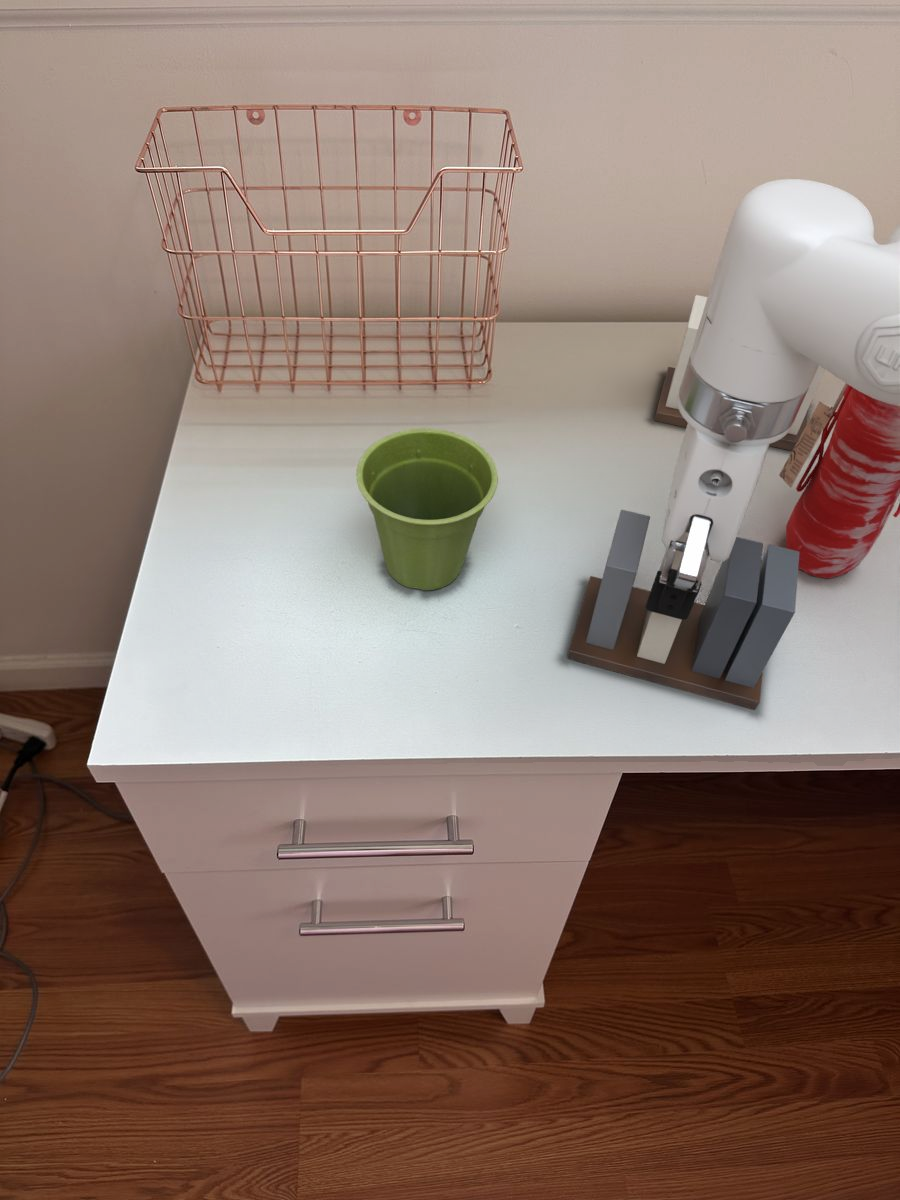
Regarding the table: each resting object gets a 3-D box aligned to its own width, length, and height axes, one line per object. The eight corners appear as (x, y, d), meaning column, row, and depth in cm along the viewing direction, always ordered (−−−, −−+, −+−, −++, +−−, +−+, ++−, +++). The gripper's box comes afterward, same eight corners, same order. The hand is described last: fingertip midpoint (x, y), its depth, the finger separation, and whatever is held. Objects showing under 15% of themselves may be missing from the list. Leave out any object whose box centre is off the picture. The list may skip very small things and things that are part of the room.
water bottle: (730, 525, 85) (823, 295, 65) (786, 496, 88) (891, 267, 68) (825, 606, 78) (959, 377, 59) (881, 571, 81) (1026, 343, 62)
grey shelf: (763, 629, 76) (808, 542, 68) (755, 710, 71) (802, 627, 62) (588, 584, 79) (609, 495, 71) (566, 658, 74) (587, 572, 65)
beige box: (675, 607, 76) (705, 528, 68) (664, 664, 72) (694, 587, 64) (648, 601, 76) (675, 521, 69) (636, 656, 72) (662, 579, 65)
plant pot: (447, 632, 75) (451, 544, 66) (336, 577, 79) (327, 486, 70) (511, 549, 82) (523, 459, 73) (407, 502, 85) (406, 410, 77)
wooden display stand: (805, 404, 98) (843, 316, 89) (801, 453, 92) (841, 364, 83) (666, 374, 100) (689, 287, 92) (654, 420, 95) (677, 331, 86)
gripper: (792, 492, 49) (709, 664, 62) (807, 330, 60) (733, 507, 73) (662, 461, 50) (608, 636, 63) (699, 308, 61) (646, 485, 74)
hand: (675, 567), depth 68 cm, fingers open, 9 cm apart
